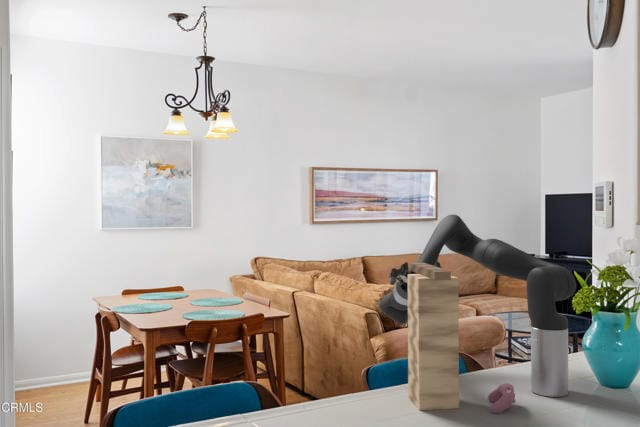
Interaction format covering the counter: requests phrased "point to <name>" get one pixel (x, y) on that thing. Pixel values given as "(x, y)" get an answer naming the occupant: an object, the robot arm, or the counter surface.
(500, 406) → the pink curved piece
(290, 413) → the counter surface
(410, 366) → the wooden block tower
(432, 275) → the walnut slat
